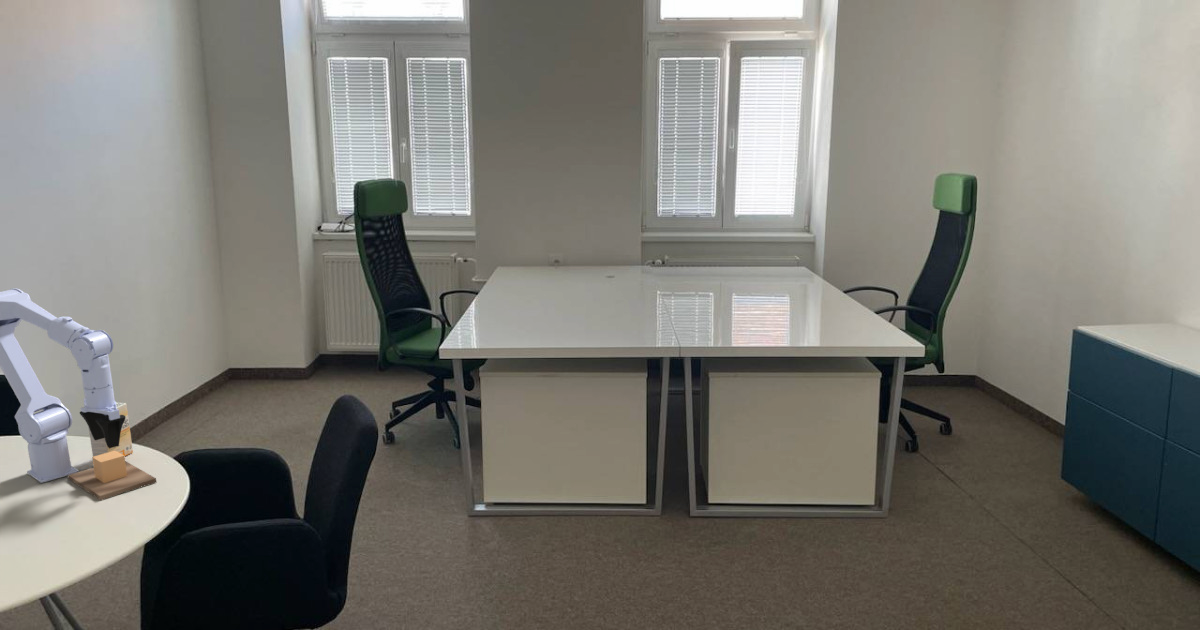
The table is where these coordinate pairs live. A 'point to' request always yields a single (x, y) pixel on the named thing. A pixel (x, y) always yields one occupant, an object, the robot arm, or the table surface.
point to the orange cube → (109, 466)
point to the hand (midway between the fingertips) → (106, 442)
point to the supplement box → (125, 437)
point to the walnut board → (111, 482)
